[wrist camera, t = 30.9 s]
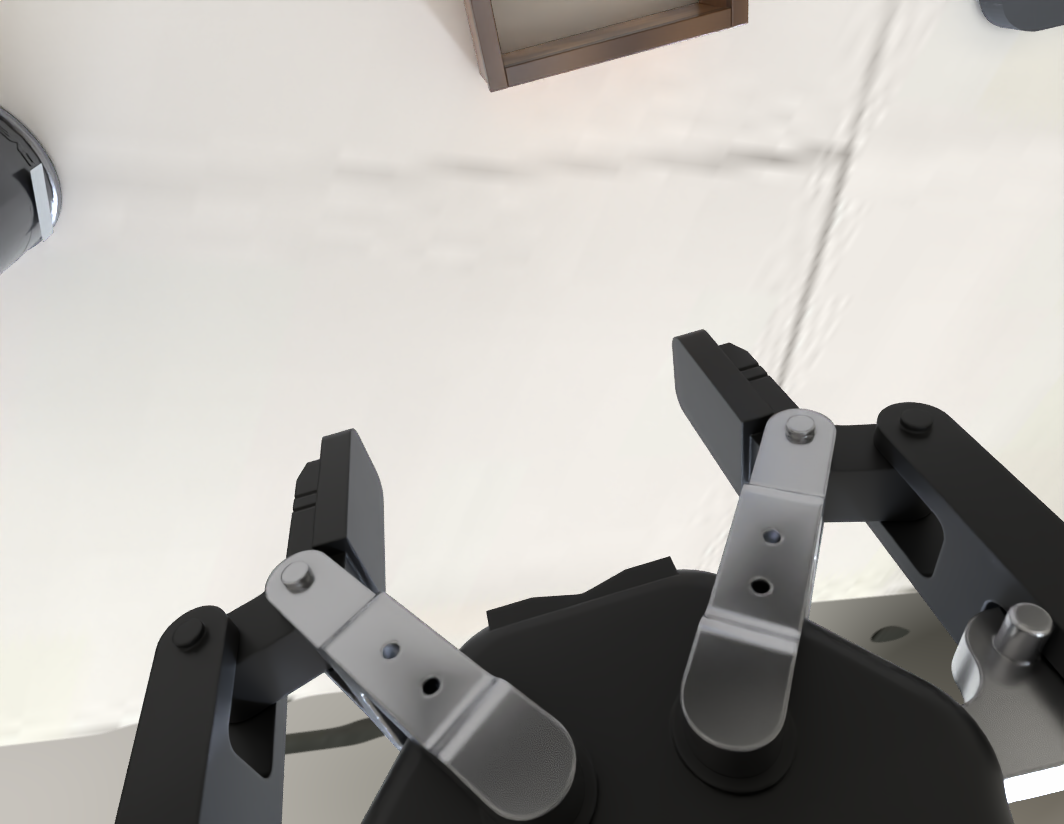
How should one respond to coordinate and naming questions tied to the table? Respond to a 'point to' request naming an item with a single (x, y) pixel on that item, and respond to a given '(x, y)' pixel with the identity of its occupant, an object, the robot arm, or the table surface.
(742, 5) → the wooden tray
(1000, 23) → the media streaming box
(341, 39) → the table surface
